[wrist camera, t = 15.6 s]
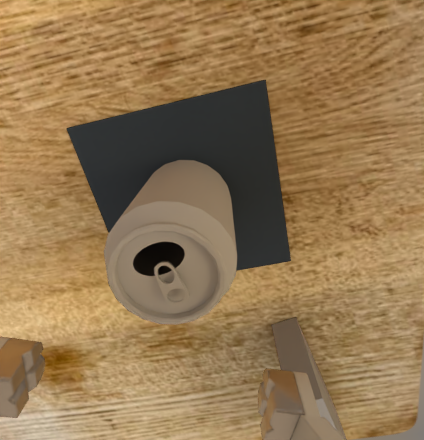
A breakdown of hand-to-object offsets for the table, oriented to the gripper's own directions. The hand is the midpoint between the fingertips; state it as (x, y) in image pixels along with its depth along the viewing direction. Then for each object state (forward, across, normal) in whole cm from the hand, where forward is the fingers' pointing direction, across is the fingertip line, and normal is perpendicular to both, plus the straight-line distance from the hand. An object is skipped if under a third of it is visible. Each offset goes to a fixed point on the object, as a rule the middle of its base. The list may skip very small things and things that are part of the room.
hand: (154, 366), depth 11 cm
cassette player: (+17, -15, +19) cm, 30 cm away
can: (+17, 0, 0) cm, 17 cm away
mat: (+17, 0, 0) cm, 17 cm away
